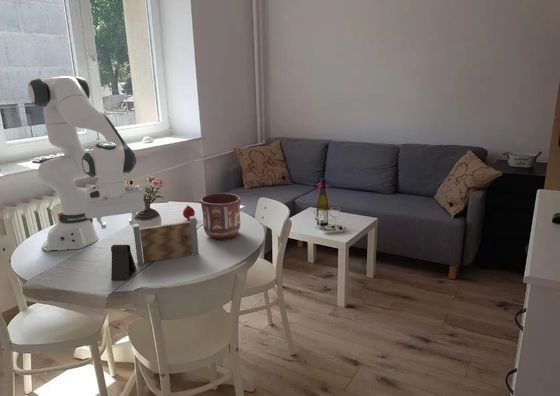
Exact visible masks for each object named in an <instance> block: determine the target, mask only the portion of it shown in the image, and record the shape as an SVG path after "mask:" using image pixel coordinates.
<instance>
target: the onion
mask: <svg viewBox="0 0 560 396" xmlns="http://www.w3.org/2000/svg"><path fill="white" fill-rule="evenodd" d="M195 214H196V211H195V210H194V208H193V207H191V206H190V205H189V204H186V207H185V208H184V209H183V210H182V216H183V217H184V219H186V220H187V221H190V216H195Z"/></svg>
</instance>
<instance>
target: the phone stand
mask: <svg viewBox="0 0 560 396" xmlns="http://www.w3.org/2000/svg"><path fill="white" fill-rule="evenodd" d="M110 251H111V279H110V281H129V280H130V278H131V277H132V275H133V274H135V272H136V271H137V267H136V263H135V261H134V257H133V254H132V251H131V245H130V244H112V245H111V247H110Z"/></svg>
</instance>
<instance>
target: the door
mask: <svg viewBox="0 0 560 396" xmlns="http://www.w3.org/2000/svg"><path fill="white" fill-rule="evenodd" d="M139 231H140V239H141V248H142V256H143V264H145V263H150V262H156V261H161V260H167V259H173V258H178V257H180V258H181V257H185V256H191V255H193V251H192V239H191V227H190V220H187V221H181V222H174V223H168V224H160V225H154V226H147V227H139Z"/></svg>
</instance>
